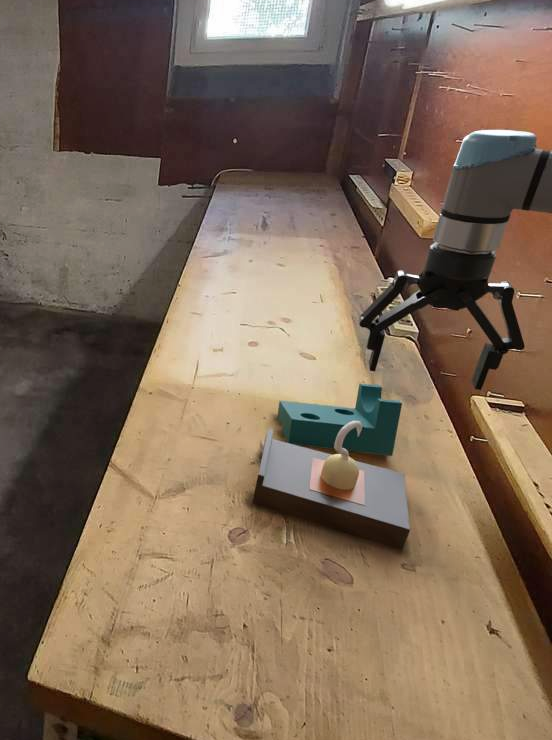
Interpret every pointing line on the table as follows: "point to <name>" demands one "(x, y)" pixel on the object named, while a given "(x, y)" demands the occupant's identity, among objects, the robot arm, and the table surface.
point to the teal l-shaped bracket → (344, 422)
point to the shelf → (333, 494)
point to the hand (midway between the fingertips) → (422, 376)
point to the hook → (341, 462)
